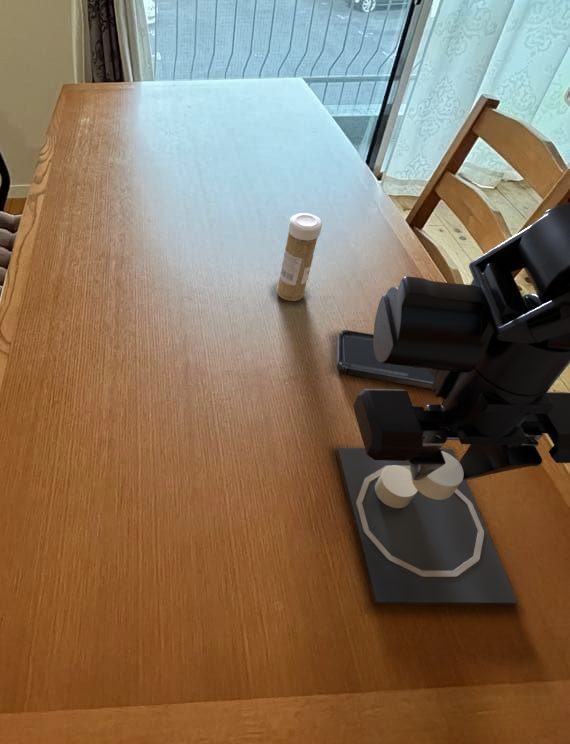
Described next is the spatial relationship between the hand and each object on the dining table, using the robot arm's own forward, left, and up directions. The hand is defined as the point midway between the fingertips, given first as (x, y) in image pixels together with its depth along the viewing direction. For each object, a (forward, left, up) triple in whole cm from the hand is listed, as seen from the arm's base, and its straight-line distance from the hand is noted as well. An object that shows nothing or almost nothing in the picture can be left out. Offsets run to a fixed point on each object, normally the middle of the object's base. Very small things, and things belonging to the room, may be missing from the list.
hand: (436, 476), depth 53 cm
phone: (-6, -25, -11) cm, 28 cm away
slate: (-2, -1, -11) cm, 11 cm away
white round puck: (0, -4, -10) cm, 10 cm away
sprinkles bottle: (+6, -40, -11) cm, 42 cm away
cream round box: (0, 0, -1) cm, 1 cm away
